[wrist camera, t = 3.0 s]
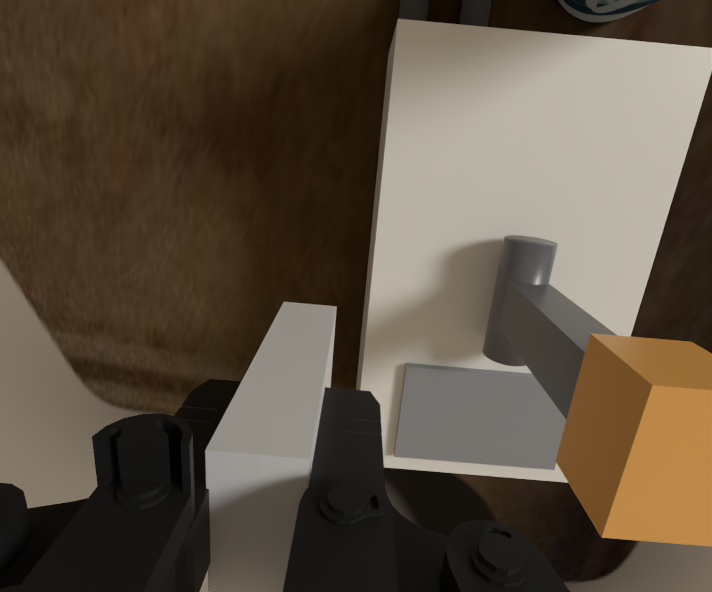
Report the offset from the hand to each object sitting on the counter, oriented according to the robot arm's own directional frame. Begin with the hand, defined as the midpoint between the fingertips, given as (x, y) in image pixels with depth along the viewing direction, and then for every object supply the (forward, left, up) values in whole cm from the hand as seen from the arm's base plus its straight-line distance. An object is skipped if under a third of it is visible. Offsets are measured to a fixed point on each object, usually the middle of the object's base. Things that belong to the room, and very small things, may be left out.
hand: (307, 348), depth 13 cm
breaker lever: (0, +8, -6) cm, 10 cm away
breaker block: (0, +8, -14) cm, 16 cm away
